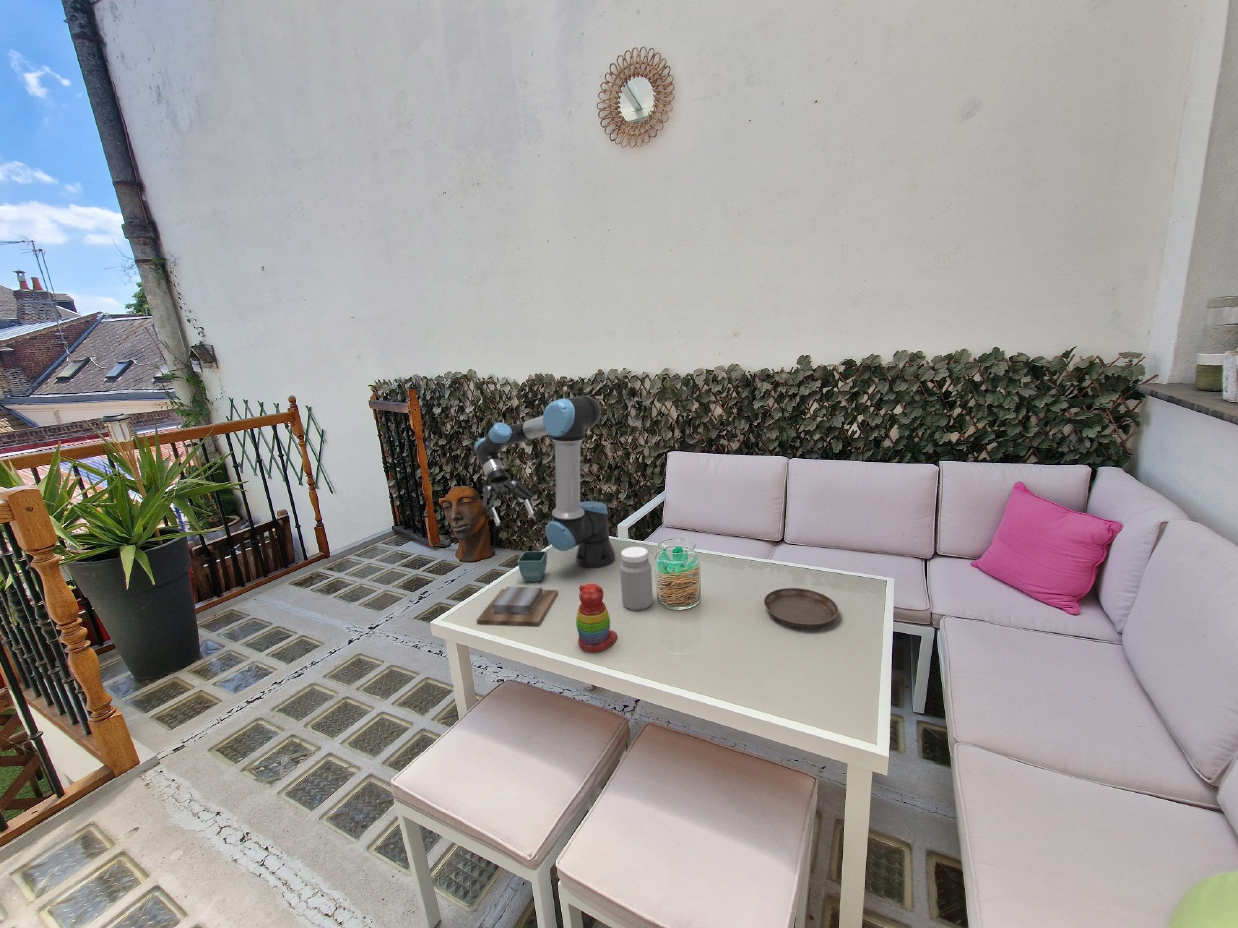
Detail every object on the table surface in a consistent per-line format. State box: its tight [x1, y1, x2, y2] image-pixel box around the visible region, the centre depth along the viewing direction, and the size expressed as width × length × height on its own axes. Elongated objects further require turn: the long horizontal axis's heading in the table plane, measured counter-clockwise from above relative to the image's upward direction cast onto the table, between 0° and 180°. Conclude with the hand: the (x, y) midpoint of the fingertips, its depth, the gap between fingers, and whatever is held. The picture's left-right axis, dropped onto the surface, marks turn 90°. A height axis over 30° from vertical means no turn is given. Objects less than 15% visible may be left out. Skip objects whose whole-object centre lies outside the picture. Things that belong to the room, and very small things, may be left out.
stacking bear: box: [575, 583, 618, 653], centre depth 140 cm, size 11×10×18 cm
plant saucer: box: [763, 587, 839, 629], centre depth 149 cm, size 21×21×3 cm
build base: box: [476, 586, 559, 627], centre depth 163 cm, size 20×20×4 cm
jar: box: [619, 546, 654, 611], centre depth 159 cm, size 10×10×18 cm
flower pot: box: [517, 550, 548, 583], centre depth 183 cm, size 9×9×9 cm
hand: (515, 519), depth 188 cm, fingers open, 13 cm apart
